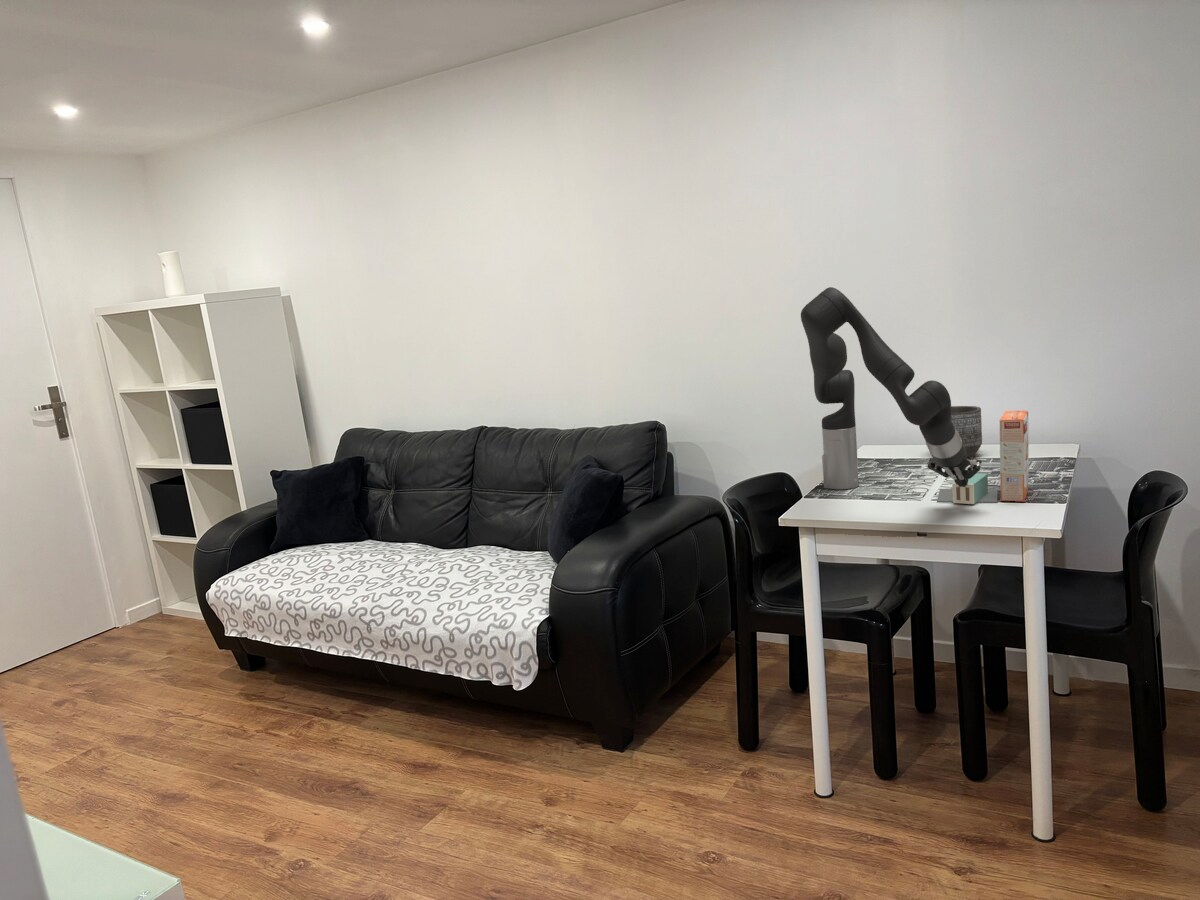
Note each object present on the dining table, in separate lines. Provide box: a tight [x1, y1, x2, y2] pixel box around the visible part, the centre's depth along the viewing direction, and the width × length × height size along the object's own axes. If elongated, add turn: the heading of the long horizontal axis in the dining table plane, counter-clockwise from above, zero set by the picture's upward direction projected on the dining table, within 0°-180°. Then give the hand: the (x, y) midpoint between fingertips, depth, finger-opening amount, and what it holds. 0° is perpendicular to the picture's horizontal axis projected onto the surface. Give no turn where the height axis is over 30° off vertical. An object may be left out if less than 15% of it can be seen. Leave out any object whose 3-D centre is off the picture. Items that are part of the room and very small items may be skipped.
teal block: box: [951, 472, 989, 505], centre depth 221 cm, size 5×5×12 cm
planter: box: [951, 405, 983, 459], centre depth 270 cm, size 14×14×15 cm
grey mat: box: [936, 488, 999, 504], centre depth 224 cm, size 14×13×1 cm
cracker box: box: [999, 410, 1029, 503], centre depth 219 cm, size 14×6×21 cm, turn 151°
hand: (963, 483), depth 216 cm, fingers closed
